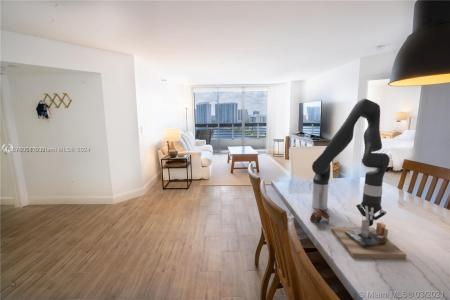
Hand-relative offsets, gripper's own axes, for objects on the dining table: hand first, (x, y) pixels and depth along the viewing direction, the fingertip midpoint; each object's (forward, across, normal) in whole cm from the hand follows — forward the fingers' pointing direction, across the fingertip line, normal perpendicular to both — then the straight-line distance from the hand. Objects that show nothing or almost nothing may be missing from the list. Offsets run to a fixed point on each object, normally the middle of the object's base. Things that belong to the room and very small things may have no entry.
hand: (369, 225), depth 106 cm
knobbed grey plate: (+3, +2, -7) cm, 8 cm away
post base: (+6, +1, -8) cm, 10 cm away
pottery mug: (+6, -23, -6) cm, 25 cm away
